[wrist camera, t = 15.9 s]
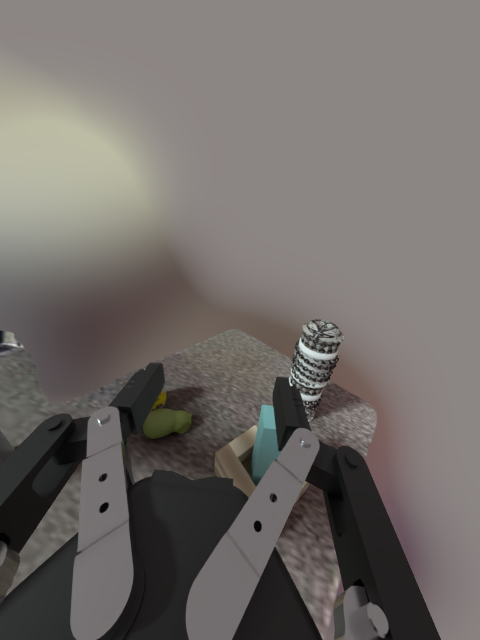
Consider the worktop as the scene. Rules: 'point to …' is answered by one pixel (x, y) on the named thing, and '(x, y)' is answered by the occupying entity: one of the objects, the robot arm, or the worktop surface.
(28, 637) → the robot arm
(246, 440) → the socket block
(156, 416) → the pear
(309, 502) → the worktop surface
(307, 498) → the worktop surface
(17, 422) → the worktop surface
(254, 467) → the peg
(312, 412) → the decorative candle
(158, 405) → the supplement bottle
